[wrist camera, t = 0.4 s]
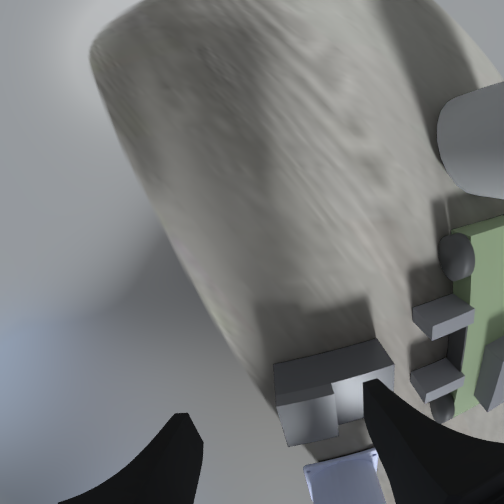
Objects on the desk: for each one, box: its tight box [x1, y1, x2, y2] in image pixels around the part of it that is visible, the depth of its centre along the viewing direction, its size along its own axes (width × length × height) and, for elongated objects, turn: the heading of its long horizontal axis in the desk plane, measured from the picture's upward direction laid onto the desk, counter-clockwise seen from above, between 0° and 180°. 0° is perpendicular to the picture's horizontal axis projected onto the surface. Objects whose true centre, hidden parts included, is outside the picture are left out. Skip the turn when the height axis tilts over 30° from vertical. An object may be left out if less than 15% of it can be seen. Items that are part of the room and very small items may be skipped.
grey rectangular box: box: [273, 338, 395, 447], centre depth 18 cm, size 4×8×5 cm, turn 104°
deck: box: [410, 215, 504, 424], centre depth 17 cm, size 18×14×6 cm
